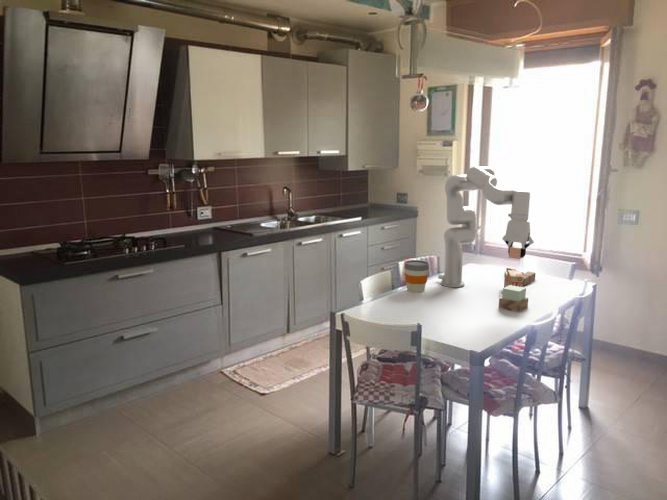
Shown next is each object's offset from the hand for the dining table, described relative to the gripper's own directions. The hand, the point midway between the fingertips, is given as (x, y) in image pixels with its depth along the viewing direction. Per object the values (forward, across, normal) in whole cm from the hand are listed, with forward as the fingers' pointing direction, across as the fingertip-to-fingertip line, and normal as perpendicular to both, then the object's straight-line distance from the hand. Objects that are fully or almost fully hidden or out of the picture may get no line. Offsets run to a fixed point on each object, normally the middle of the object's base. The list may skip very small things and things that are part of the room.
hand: (516, 255), depth 254 cm
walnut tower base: (+26, 0, 0) cm, 26 cm away
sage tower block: (+21, 0, 0) cm, 21 cm away
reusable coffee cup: (+26, -50, -7) cm, 57 cm away
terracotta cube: (+1, 0, 0) cm, 1 cm away
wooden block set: (+26, -21, +50) cm, 60 cm away
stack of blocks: (+26, -10, +23) cm, 36 cm away
